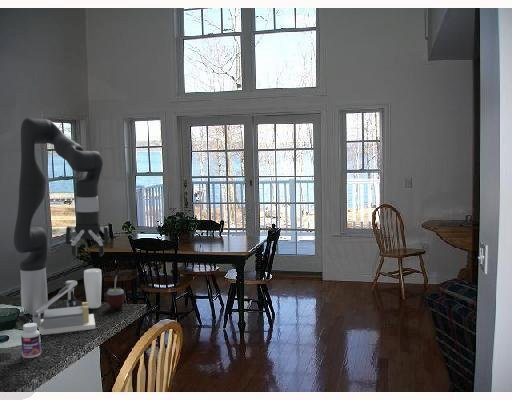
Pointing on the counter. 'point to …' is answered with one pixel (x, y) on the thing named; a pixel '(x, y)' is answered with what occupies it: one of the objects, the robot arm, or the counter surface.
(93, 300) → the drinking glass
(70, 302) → the push button
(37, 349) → the pill bottle
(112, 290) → the mate gourd
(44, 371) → the counter surface
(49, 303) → the latch bar
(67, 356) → the counter surface
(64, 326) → the base
